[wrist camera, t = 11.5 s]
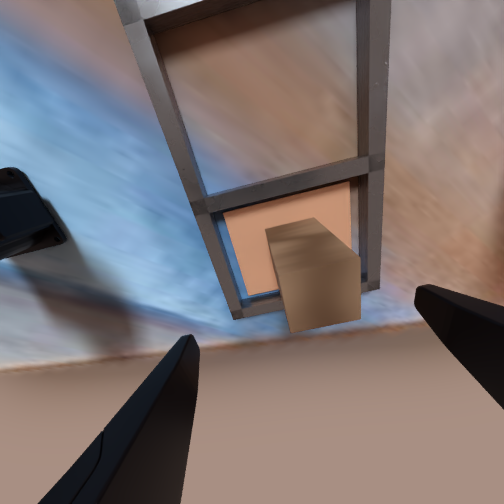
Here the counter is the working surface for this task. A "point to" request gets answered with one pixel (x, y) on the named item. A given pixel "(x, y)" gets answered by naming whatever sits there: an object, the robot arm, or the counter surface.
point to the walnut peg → (315, 275)
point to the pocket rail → (286, 208)
